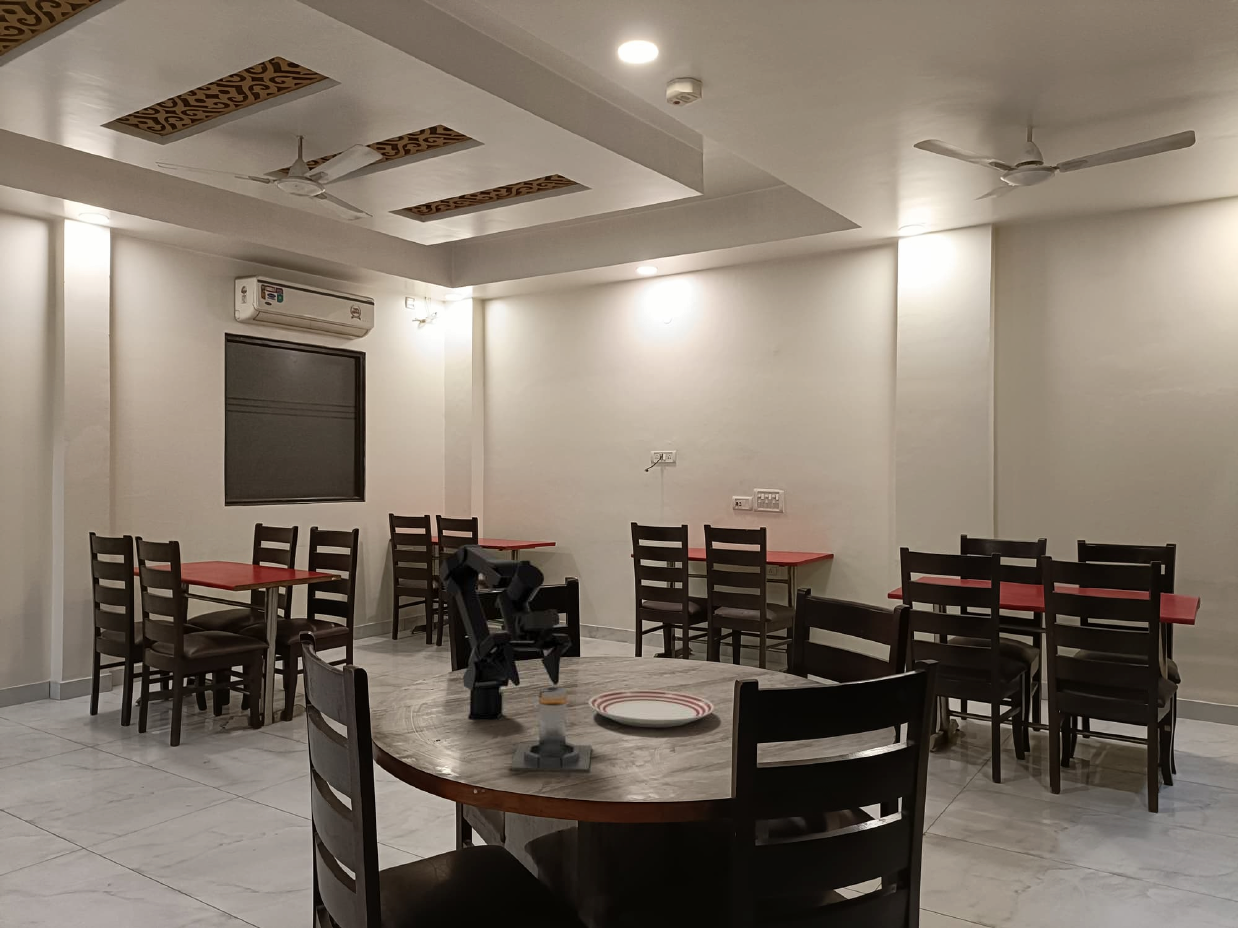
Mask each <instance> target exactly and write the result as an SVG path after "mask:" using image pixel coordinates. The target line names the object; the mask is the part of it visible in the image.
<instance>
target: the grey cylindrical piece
mask: <svg viewBox="0 0 1238 928" xmlns="http://www.w3.org/2000/svg"><path fill="white" fill-rule="evenodd" d="M567 693H568V691H567V689H566V688H562V687H544V688H542V689H540V690H539V695H538V703H539V705H538V706H539V709H538V713H539V714H538V715H539V716H538V718H539V719H538V743H539V755H540V756H563V755H566V742H567V707H568V706H567V702H568V694H567Z"/></svg>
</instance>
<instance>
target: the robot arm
mask: <svg viewBox="0 0 1238 928" xmlns="http://www.w3.org/2000/svg"><path fill="white" fill-rule="evenodd" d="M438 571H439V573H438V575H439V576H438V577H439V580H440V582H441V583H442V585H443V587H444V589H445V591H446V592H447V593H449V594H450V595H451V596H453V597H454V598H455V600H456V603H457V606H458V610H459V612H460V616H461V619H462V622H463V626H464V628H465V631H466V635H467V637H468V642H469V644H470V647H471V653H470V657H469V659H468V666H467V668H466V670H465V672H464V674H463V676H462V681H463V687H464V688H467V689H469V690H470V693H469V695H470V696H469V700H470V701H469V713H468V716H467V718H468V719H499V717H500V716H501V715H502V714H503V712H504V696H505V695H504V692H503V691H502V687H508V686H509V682H512V684H513V685H514V686H516V687H518V686H519V685H520V684H521V681H520V675H519V671H518V668H517V664H516V661H515V657H514V653H515V651H538V652H539V654H540V657H542V659H541V661H540V662H541V663H542V664H543V667H544V669H545V672H546V673H547V675H548V677H549V680H550V681H551V682H552V684H553V685H554V686H557V685H559V682H560V681H559V680H560V679H559V678H560V664H561V657H562V655H563V654H564V653H565V652H566V651H567V650H568V649H569V648H570V647H571V646H572V643H571V641H570V640H571V639H570V637H569V635H568V634H566V633H551V634H550V635H549V636H547V637H546V638H545V639H544V640H540V637H543V636H544V635H545V631H546V630H549V629H551V630H553V629H554V628H555V626H558V625H560V615H559V613H558V610H557V609H556V608H555V609H553V608H549V609H548V610H545V611H531V610H530V606H529V602H531V601H532V600H533V598H534V597H535V596H536V594H537V592H538V591H540V588H541V587H542V586H543V584H544V582H545V576H544V573H543V572H542V571H541V570H540V569H539V568H538V567H537V566H535V565H532V564H531V561H530V560H527V559H525V560H520V561H518V560H512V559H501V558H499V557H497V556H496V555H494V554H492V553H491V552H490V551H487V550H486V549H484V548H483V546H481V545H479V544H464V545H462V546H459V547H458V549H457V550H456V551H455V552H453V553H452V554H451V555H448V556H447V557H445V558H444V561H443V562H442V564H441V565H440V567H439V570H438ZM479 575H483V577H484V579H483V582H484V583H485V584H486V586H487V587H488V588H489V589H490V590H491V591H493V590H501V591H500V593H499V594H498V596H497V598H496V601H495V605H494V606H495V608H498V609H499V608H500V609H499V610H500V613H501V616H502V620H503V623H502V625H501V626H500V629H501V631H502V632H491V630H490V628H489V625H488V622H487V619H486V616H485V613H484V610H483V608H482V605H481V601H480V598H479V595H478V593H477V589H476V587H477V584H478V581H479V578H480V577H479Z"/></svg>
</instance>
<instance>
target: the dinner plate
mask: <svg viewBox="0 0 1238 928" xmlns="http://www.w3.org/2000/svg"><path fill="white" fill-rule="evenodd" d="M588 706H589V708H590V709H592V710H593V711H594V712H596V713H598V714H599V715H601V716H603V717H605V718H607V719H611V720H613V721H614V722H617V723H620V724H622V725H627V726H630V727H631V726H632V727H642V728H669V727H671V728H673V727H678V726H683V725H686V724H689V723H691V722H695V721H697V720H700V719H702V718H704V717H706V716H708V715H710V714H712V712H714V710H715V707H714V705H713V704H712V702H710V701H708V700H707V699H704V698H701V697H699V696H695V695H692V694H687V693H682V692H681V693H680V692H675V691H666V690H653V689H650V690H649V689H629V690H628V689H626V690H617V691H610V692H609V691H608V692H604V693H600V694H597V695H594V696H593V697H591V698H590V699H589V701H588Z"/></svg>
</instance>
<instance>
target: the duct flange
mask: <svg viewBox="0 0 1238 928" xmlns="http://www.w3.org/2000/svg"><path fill="white" fill-rule="evenodd" d="M592 747H593V746H592V745H591V744H589V745H587V744H585V745H583V744H582V745H581V744H573V743H571V742H567V741H566V755H563V756H540V755H539V742H535V743H519V744H518V746H517V748H516V749H515V753H514V756H513V758H512V761H511V762H510V765H509V767H508V769H509V770H508V771H521V772H523V771H527V772H529V771H531V772H532V771H533V772H534V771H535V772H568V773H569V772H571V773H572V772H573V773H574V772H575V773H578V772H579V773H588V772H589V769H590V762H591V755H592Z"/></svg>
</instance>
